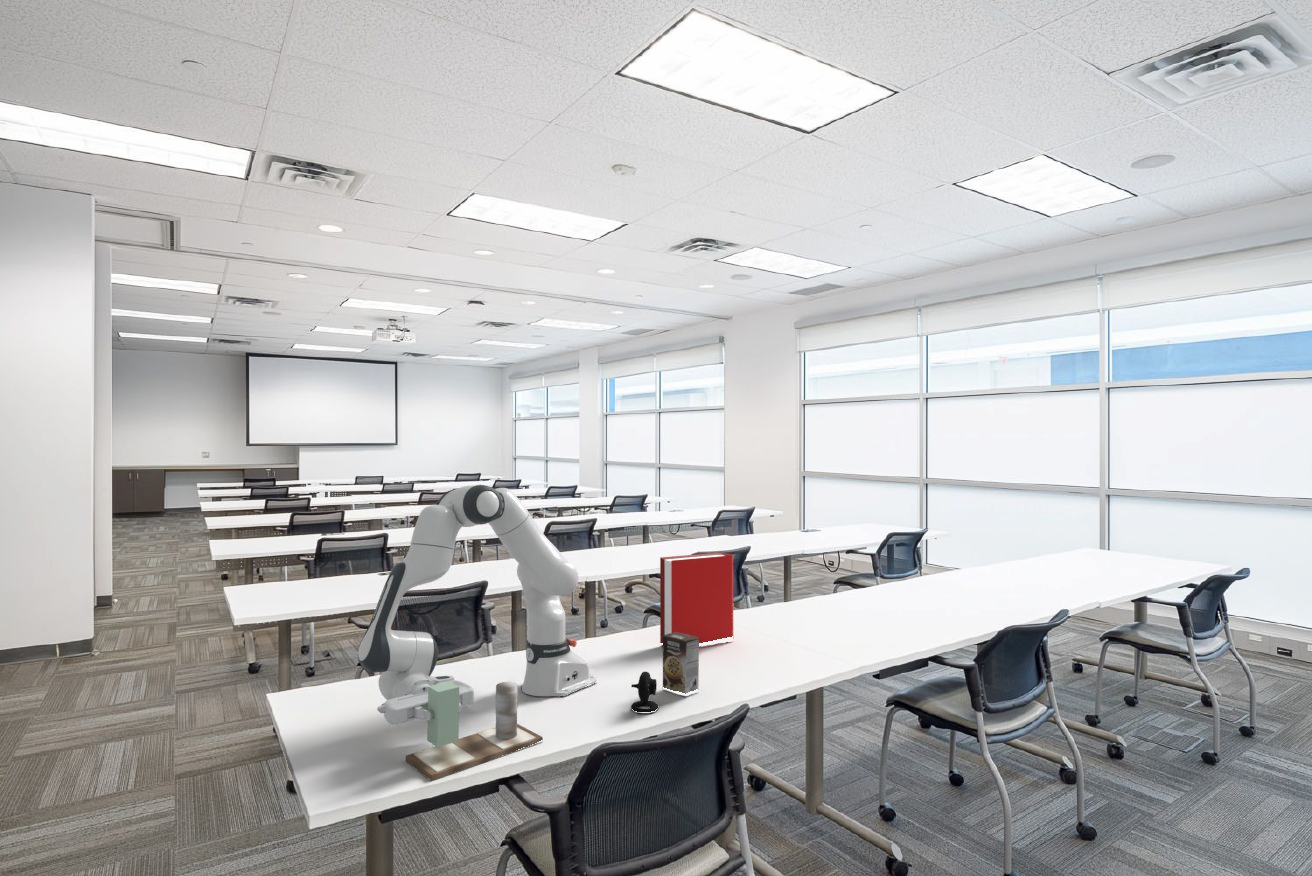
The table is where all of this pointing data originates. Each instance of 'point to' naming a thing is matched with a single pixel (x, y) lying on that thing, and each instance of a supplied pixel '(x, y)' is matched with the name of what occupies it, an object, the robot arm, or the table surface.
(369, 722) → the table surface
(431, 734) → the sage green tall pillar
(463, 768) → the board
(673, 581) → the book
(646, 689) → the webcam
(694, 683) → the coffee box
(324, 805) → the table surface
